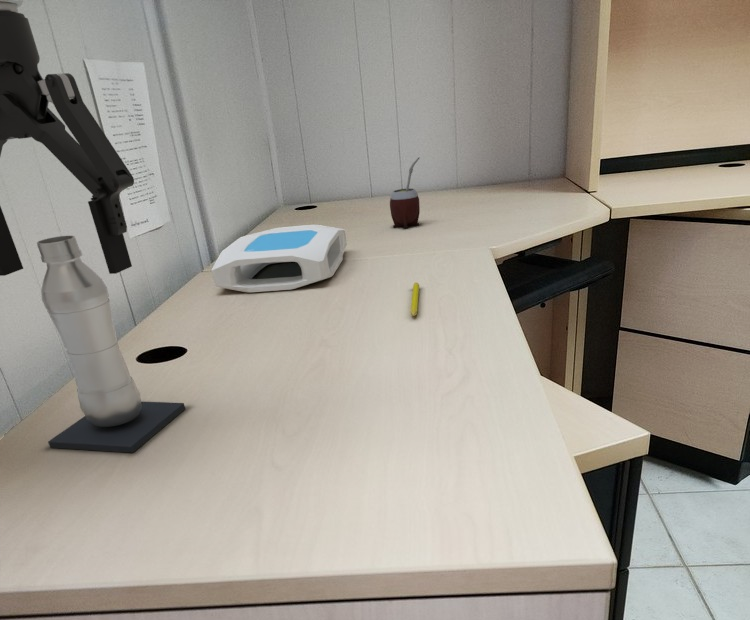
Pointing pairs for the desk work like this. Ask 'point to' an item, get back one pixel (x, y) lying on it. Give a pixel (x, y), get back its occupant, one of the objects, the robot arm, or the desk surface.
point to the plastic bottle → (87, 334)
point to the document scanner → (280, 257)
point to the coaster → (119, 430)
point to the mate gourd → (405, 205)
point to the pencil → (414, 299)
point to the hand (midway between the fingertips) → (64, 271)
